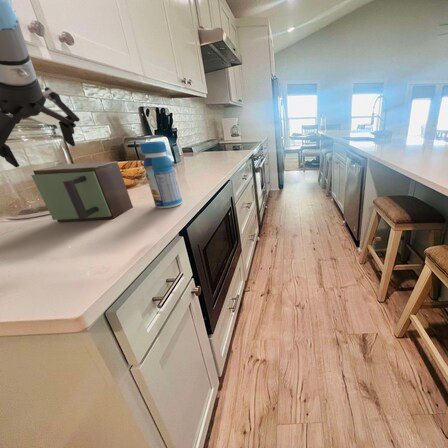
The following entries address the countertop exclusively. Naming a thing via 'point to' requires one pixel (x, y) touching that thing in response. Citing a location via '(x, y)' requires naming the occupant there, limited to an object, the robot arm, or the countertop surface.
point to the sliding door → (72, 195)
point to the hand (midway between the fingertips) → (43, 152)
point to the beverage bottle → (160, 175)
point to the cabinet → (108, 182)
